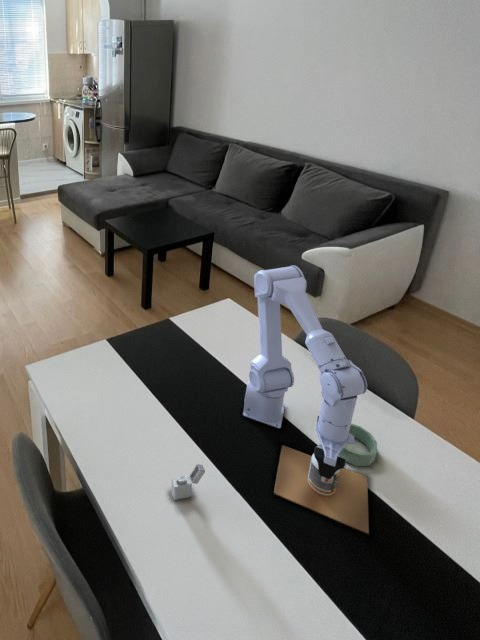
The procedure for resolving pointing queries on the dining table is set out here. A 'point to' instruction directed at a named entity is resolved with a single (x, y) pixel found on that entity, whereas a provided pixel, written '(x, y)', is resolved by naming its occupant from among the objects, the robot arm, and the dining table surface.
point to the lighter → (186, 483)
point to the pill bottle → (321, 478)
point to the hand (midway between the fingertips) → (325, 461)
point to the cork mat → (340, 506)
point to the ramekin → (360, 458)
